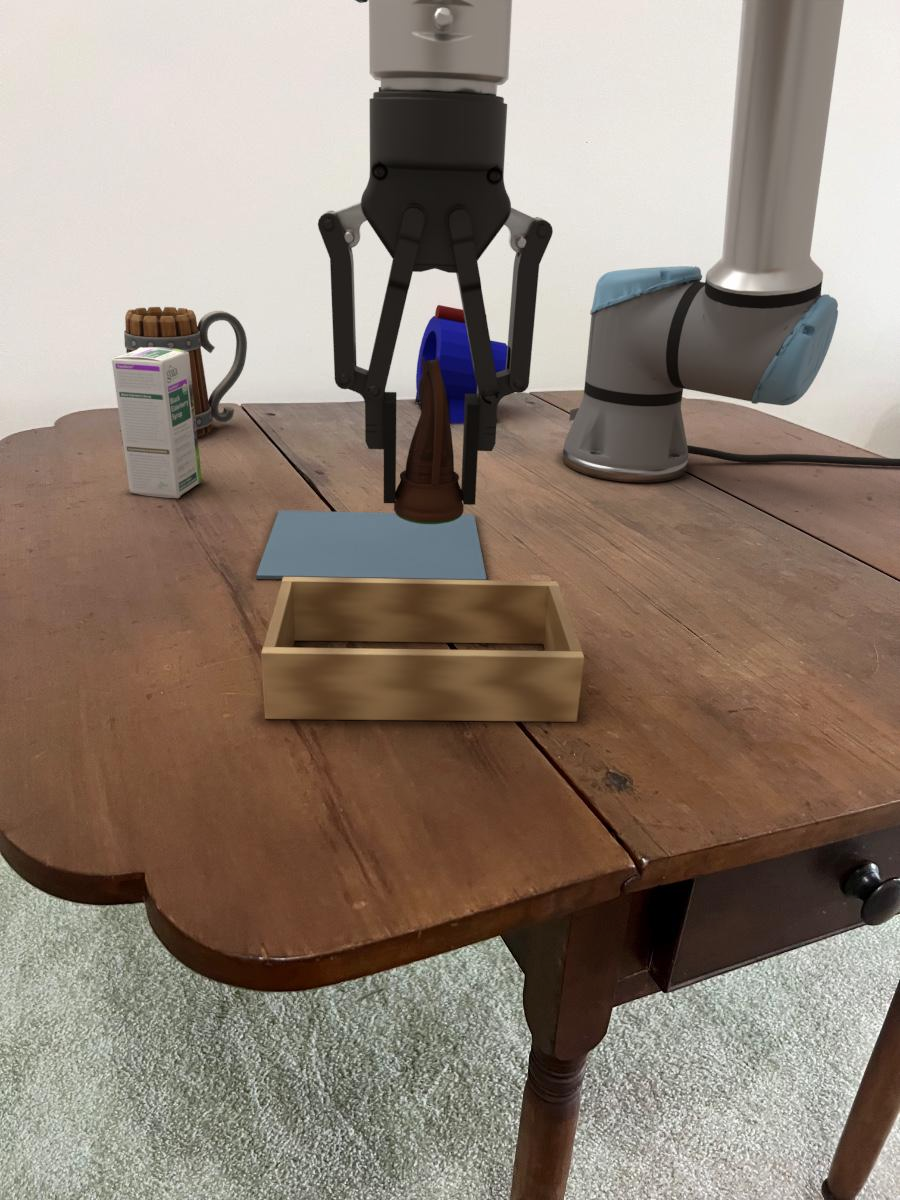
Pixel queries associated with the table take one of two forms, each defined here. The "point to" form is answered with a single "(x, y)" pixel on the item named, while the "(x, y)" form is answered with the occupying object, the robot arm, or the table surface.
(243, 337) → the mug
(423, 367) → the chess piece
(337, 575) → the mat
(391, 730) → the table surface
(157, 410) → the syrup box
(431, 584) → the pine box
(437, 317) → the alarm clock
